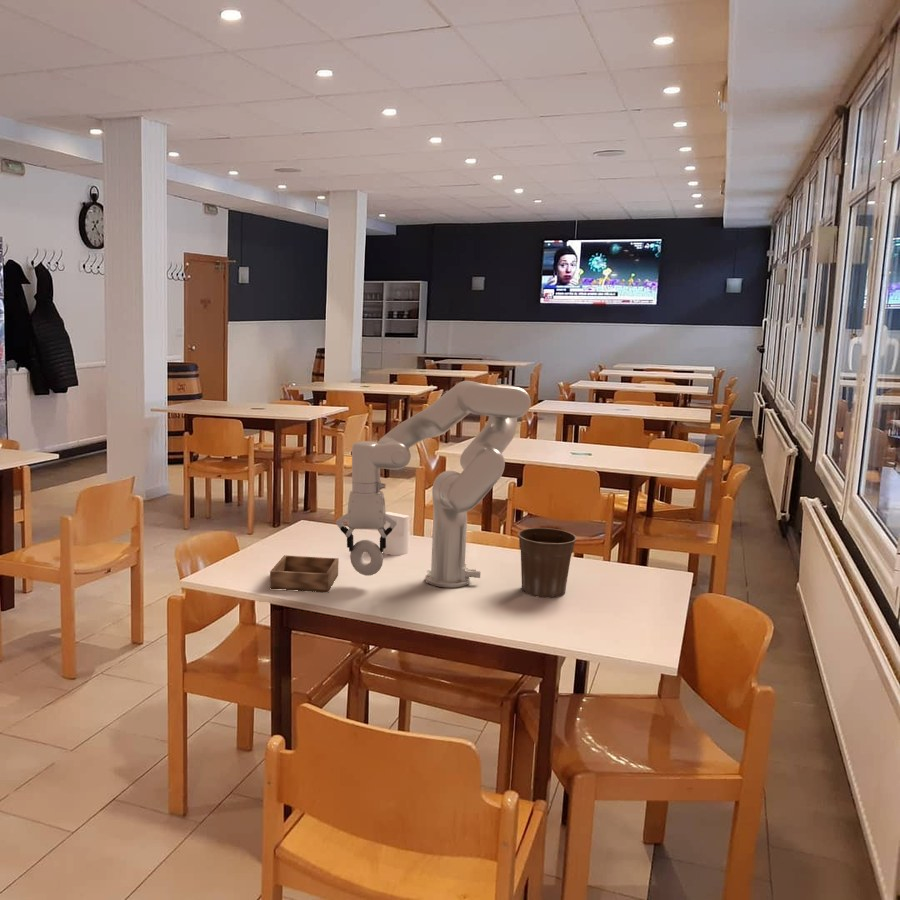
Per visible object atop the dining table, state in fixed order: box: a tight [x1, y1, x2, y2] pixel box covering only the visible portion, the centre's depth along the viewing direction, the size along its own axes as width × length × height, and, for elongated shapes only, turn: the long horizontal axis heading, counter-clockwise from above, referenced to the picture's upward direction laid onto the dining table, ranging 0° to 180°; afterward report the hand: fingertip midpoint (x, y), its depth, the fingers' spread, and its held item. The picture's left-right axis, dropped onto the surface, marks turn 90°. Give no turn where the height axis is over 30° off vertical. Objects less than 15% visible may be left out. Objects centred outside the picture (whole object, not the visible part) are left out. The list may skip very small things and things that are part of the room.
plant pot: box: [517, 527, 578, 598], centre depth 230 cm, size 16×16×16 cm
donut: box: [349, 539, 384, 576], centre depth 227 cm, size 10×4×10 cm, turn 64°
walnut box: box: [269, 555, 339, 593], centre depth 229 cm, size 16×16×5 cm
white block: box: [382, 511, 411, 556], centre depth 263 cm, size 9×9×12 cm
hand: (366, 550), depth 226 cm, fingers closed on donut, 7 cm apart
